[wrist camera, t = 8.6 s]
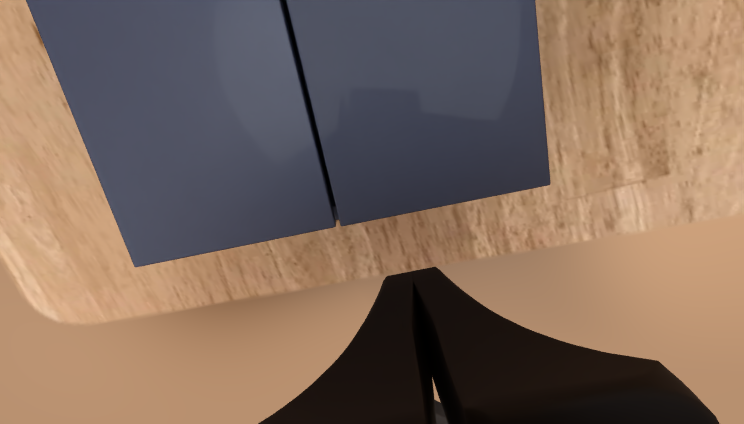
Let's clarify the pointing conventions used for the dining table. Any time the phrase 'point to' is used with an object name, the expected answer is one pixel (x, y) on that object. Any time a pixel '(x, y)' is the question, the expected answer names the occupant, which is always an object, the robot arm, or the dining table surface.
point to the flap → (190, 120)
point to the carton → (421, 100)
